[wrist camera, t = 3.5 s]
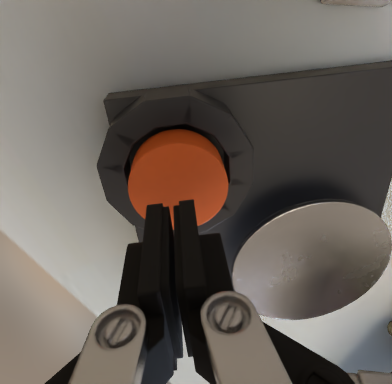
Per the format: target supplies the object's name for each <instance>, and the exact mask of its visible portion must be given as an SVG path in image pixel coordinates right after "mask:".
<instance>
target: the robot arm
mask: <svg viewBox="0 0 392 384" xmlns="http://www.w3.org/2000/svg"><path fill="white" fill-rule="evenodd" d="M173 212H174V233H173V227H172V221H171V215H170V209H169V206H167V207H163V203H159V204H151V205H147V208H146V217H145V226H144V235H143V242H140V243H132V244H128V246H127V251H126V256H125V262H124V268H123V274H122V279H121V285H120V291H119V296H118V302H117V305H116V306H114V307H111V308H109V309H107V310H106V311H104V312H103V313H101V314H100V315H99V317H98V318H97V319H96V320H95V321H94V323H93V325H92V326H91V329H90V331H89V333H88V336H87V338H86V341H85V343H84V346H83V348H82V351H81V352H80V353H79V354H78V355H77V356H76V357H75V358H74V359H72V360H71V361H70V362H69V363H68V364H67V365H66V366H64V367H63V368H62V369H61V370H60V371H59V372H57V373H56V374H55V375H54V376H53V377H52V378H51V379H50V380H48V381H47V382H46V383H45V384H166V383H167V382H168V380H169V379H170V378H171V377H172V376H173V371H174V370H177V358H183V342H182V326H183V331H184V337H185V342H186V347H187V353H188V357H192V356H193V358H194V364H195V370H196V372H197V373H198V374H199V375H201V376H202V377H203V378H204V379H205V380H207V381H208V382H209V383H210V384H392V373H383V372H374V371H364V370H358V373H357V374H355V373H346V372H345V371H343V370H342V369H341V368H339V367H338V366H337V365H335V364H333V363H332V362H330V361H328V360H326V359H325V358H323V357H321V356H320V355H318V354H316V353H315V352H313V351H311V350H310V349H308V348H306V347H304V346H303V345H301V344H299V343H298V342H296V341H294V340H293V339H291V338H289V337H288V336H286V335H284V334H283V333H281V332H279V331H277V330H276V329H274V328H272V327H271V326H269V325H267V324H266V323H264V322H262V320H261V318H260V316H259V314H258V312H257V310H256V308H255V306H254V304H253V303H252V302H251V300H250V299H249V298H247V297H246V296H245V295H243V294H240V293H238V292H234V289H233V285H232V281H231V277H230V272H229V268H228V264H227V260H226V255H225V251H224V247H223V243H222V238H221V235H220V233H212V234H204V235H199V233H198V226H197V219H196V211H195V204H194V199H191V200H183V201H179V205H175V206H173Z"/></svg>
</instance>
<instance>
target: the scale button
mask: <svg viewBox="0 0 392 384" xmlns="http://www.w3.org/2000/svg"><path fill="white" fill-rule="evenodd" d="M128 193H129V198H130V201H131V203H132V205H133V207H134V208H135V210H136V211H137V212H138V213H139V214H140V216H142V217H143V218H144V219H145V217H146V208H147V205H151V204H159V203H163V207H167V206H169V209H170V215H171V221H172V227H173V230H174V212H173V206H175V205H179V201H183V200H191V199H194V204H195V211H196V219H197V226H199V225H202V224H204V223H205V222H207V221H209V220H210V219H211V218H213V217H214V216H215V215H216V214H217V213H218V212H219V211H220V209H221V208H222V206H223V204H224V202H225V200H226V197H227V194H228V177H227V174H226V171H225V168H224V165H223V162H222V159H221V156H220V154H219V152H218V150H217V149H216V147H215V146H214V145H213V144H212V143H211V142H210V141H209V140H208V139H207V138H205V137H204V136H202V135H200V134H198V133H196V132H193V131H190V130H185V129H171V130H166V131H162V132H159V133H157V134H155V135H153V136H151V137H150V138H148V139H147V140H146V141H145V142H144V143H143V144H142V145H141V146H140V147H139V149H138V150H137V152H136V154H135V156H134V159H133V163H132V167H131V171H130V175H129V180H128Z"/></svg>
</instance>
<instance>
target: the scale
mask: <svg viewBox="0 0 392 384" xmlns="http://www.w3.org/2000/svg"><path fill="white" fill-rule="evenodd" d="M104 105H105V109H106V113H107V117H108V121H109V125H110V127H109V129H108V132H107V135H106V138H105V141H104V144H103V147H102V150H101V153H100V157H99V160H98V163H97V169H98V172H99V176H100V179H101V183H102V186H103V189H104V193H105V196H106V199H107V201H108V202H109V203H110V204H111V205H112V206H113V207H114V208H115V209H116V210H117V211H118V212H119V213H120V214H121V215H123V216H124V217H125V218H126V219H127V220H128V221H129V222H130V223H131V224H132V225H135V228H136V232H137V236H138V240H139V243H140V242H143V235H144V226H145V219H144V218H143V217H142V216H140V214H139V213H138V212H137V211H136V210H135V208H134V207H133V205H132V203H131V201H130V198H129V193H128V180H129V175H130V171H131V167H132V163H133V159H134V156H135V154H136V152H137V150H138V149H139V147H140V146H141V145H142V144H143V143H144V142H145V141H146V140H147V139H148V138H150V137H151V136H153V135H155V134H157V133H159V132H162V131H166V130H171V129H185V130H190V131H193V132H196V133H198V134H200V135H202V136H204V137H205V138H207V139H208V140H209V141H210V142H211V143H212V144H213V145H214V146H215V147H216V149H217V150H218V152H219V154H220V156H221V159H222V162H223V165H224V168H225V171H226V174H227V177H228V194H227V197H226V200H225V202H224V204H223V206H222V208H221V209H220V211H219V212H218V213H217V214H216V215H215V216H214V217H213V218H211V219H210V220H209V221H207V222H205V223H204V224H202V225H199V226H198V233H199V235H204V234H212V233H220V235H221V238H222V243H223V247H224V251H225V255H226V260H227V264H228V268H229V272H230V277H231V267H232V262H233V258H234V256H235V253H236V251H237V249H238V247H239V246H240V244H241V242H242V241H243V240H244V238H245V237H246V236H247V235H248V234H249V233H250V231H251V230H252V229H253V228H254V227H256V226H257V225H258V224H259V223H261V222H262V221H263V220H265V219H266V218H268V217H269V216H271V215H272V214H274V213H276V212H278V211H280V210H282V209H284V208H287V207H289V206H292V205H294V204H298V203H301V202H305V201H310V200H315V199H326V198H333V199H344V200H350V201H353V202H356V203H359V204H362V205H364V206H366V207H368V208H369V209H371V210H372V211H374V212H375V213H376V214H377V215H378V216H379V217H380V218H381V214H382V210H383V207H384V203H385V200H386V196H387V192H388V189H389V185H390V181H391V178H392V61H386V62H377V63H369V64H360V65H351V66H342V67H334V68H325V69H316V70H307V71H299V72H290V73H281V74H272V75H264V76H255V77H246V78H237V79H229V80H220V81H211V82H203V83H194V84H185V85H176V86H168V87H159V88H150V89H141V90H133V91H124V92H115V93H109V94H108V95H107V96H106V98H105V99H104ZM173 233H174V230H173ZM231 281H232V277H231ZM232 285H233V283H232ZM233 289H234V287H233ZM234 292H235V290H234Z"/></svg>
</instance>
